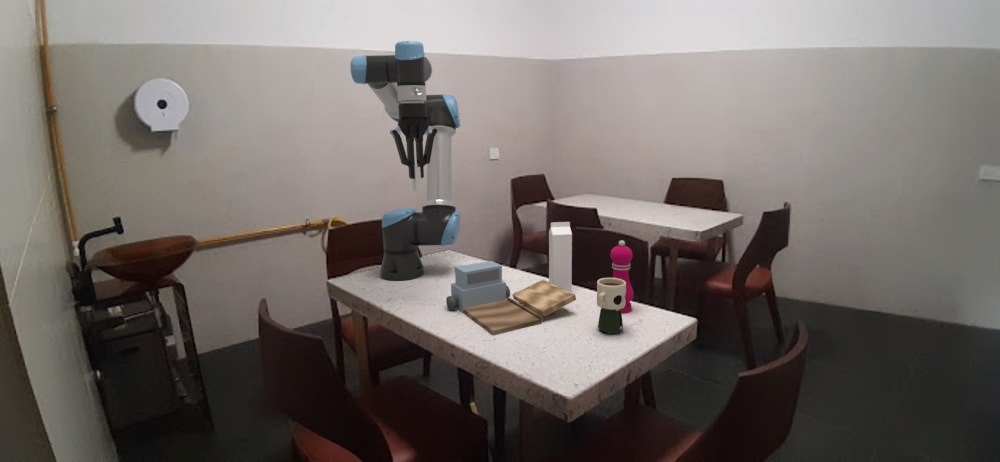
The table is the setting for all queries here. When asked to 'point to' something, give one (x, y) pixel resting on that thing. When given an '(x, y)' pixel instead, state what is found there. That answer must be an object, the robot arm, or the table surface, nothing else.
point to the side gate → (544, 297)
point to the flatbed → (502, 316)
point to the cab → (477, 286)
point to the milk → (560, 255)
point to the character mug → (611, 303)
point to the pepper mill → (623, 270)
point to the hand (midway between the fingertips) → (417, 190)
